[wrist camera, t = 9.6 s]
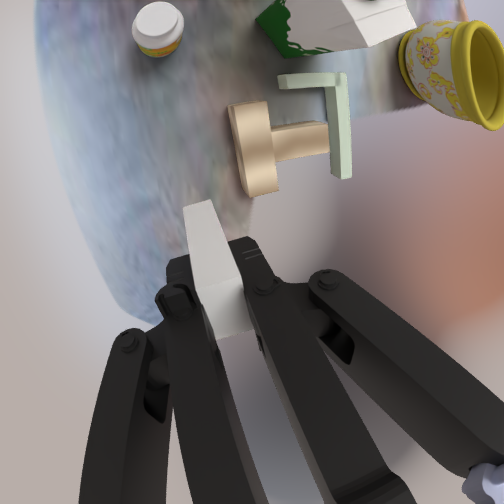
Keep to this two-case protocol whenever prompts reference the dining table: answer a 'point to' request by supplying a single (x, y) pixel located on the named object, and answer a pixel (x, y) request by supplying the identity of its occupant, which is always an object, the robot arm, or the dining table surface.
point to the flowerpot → (456, 70)
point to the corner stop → (330, 114)
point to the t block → (270, 144)
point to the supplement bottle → (158, 29)
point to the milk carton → (333, 24)
